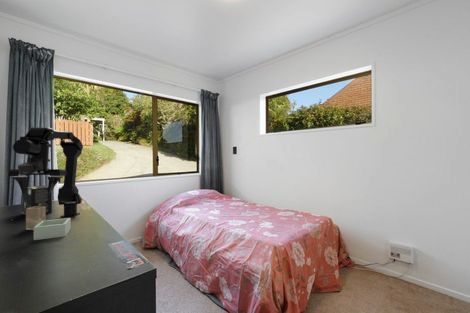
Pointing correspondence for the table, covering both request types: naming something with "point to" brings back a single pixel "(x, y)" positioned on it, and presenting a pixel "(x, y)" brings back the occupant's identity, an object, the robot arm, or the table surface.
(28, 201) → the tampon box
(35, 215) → the tan upright block
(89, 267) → the table surface
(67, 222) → the pale green open tray
